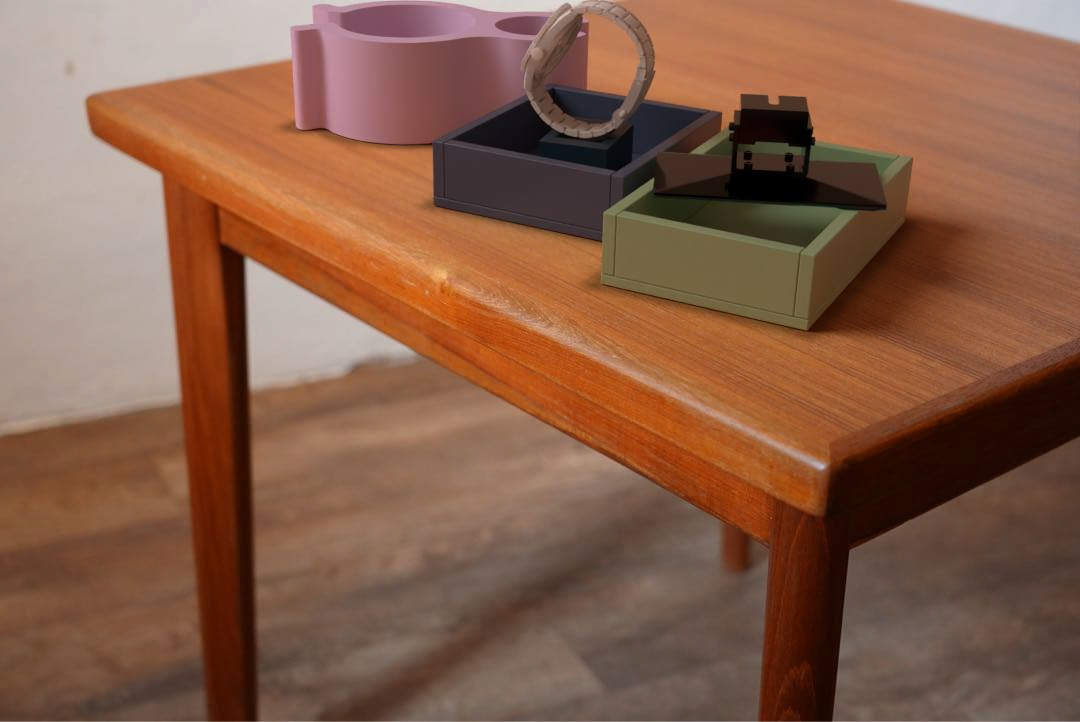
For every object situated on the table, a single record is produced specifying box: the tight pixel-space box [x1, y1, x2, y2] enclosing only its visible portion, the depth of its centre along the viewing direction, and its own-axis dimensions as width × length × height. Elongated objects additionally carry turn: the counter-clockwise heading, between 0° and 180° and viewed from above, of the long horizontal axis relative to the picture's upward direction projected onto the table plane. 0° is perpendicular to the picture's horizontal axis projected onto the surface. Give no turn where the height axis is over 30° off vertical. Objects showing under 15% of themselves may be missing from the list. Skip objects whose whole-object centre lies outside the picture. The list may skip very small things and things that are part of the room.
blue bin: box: [432, 83, 723, 242], centre depth 90 cm, size 13×15×4 cm
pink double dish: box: [289, 0, 590, 145], centre depth 102 cm, size 20×12×7 cm, turn 85°
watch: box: [520, 0, 656, 172], centre depth 88 cm, size 6×8×11 cm
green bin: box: [600, 125, 914, 331], centre depth 81 cm, size 12×18×4 cm, turn 151°
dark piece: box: [652, 93, 887, 212], centre depth 79 cm, size 12×7×5 cm, turn 83°
